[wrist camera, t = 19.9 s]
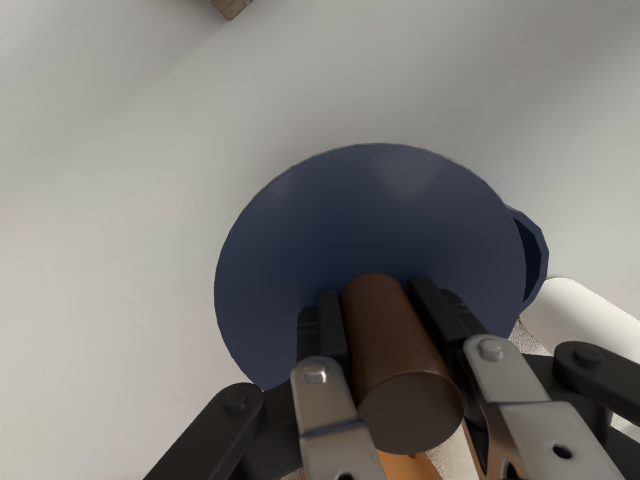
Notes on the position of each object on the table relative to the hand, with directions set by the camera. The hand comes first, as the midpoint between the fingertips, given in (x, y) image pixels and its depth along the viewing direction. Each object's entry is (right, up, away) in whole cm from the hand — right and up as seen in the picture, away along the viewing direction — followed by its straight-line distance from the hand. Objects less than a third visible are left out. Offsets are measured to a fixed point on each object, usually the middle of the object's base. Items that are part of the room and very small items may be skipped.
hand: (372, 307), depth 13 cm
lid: (0, 0, +1) cm, 1 cm away
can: (+21, -4, +22) cm, 31 cm away
